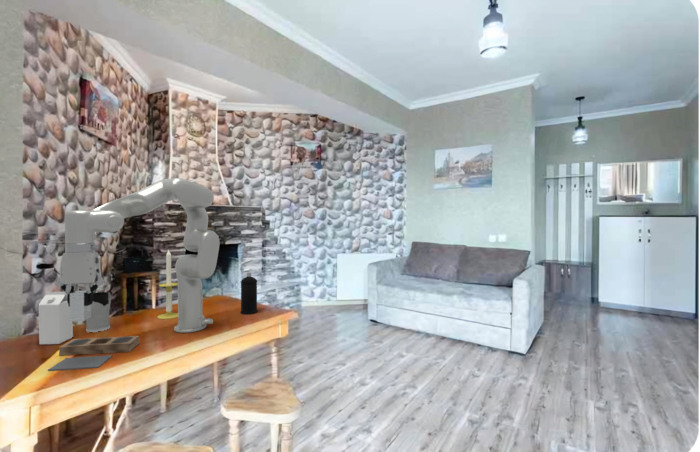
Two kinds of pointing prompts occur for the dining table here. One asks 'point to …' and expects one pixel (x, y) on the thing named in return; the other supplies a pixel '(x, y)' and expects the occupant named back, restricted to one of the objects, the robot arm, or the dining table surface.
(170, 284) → the candle
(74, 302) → the grey rectangular block
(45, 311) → the milk carton
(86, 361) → the mat
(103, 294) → the glass holder
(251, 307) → the aerosol can
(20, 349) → the dining table surface
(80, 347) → the rail
